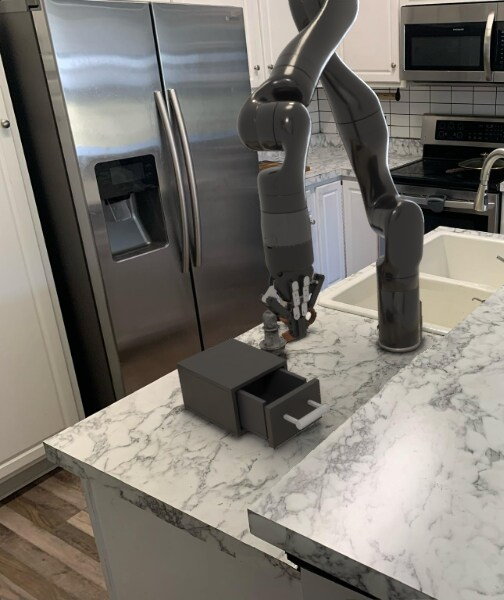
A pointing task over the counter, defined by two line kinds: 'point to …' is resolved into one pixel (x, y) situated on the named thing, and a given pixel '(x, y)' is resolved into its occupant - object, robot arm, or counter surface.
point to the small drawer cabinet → (223, 380)
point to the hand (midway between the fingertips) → (298, 336)
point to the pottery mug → (308, 322)
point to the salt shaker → (272, 336)
